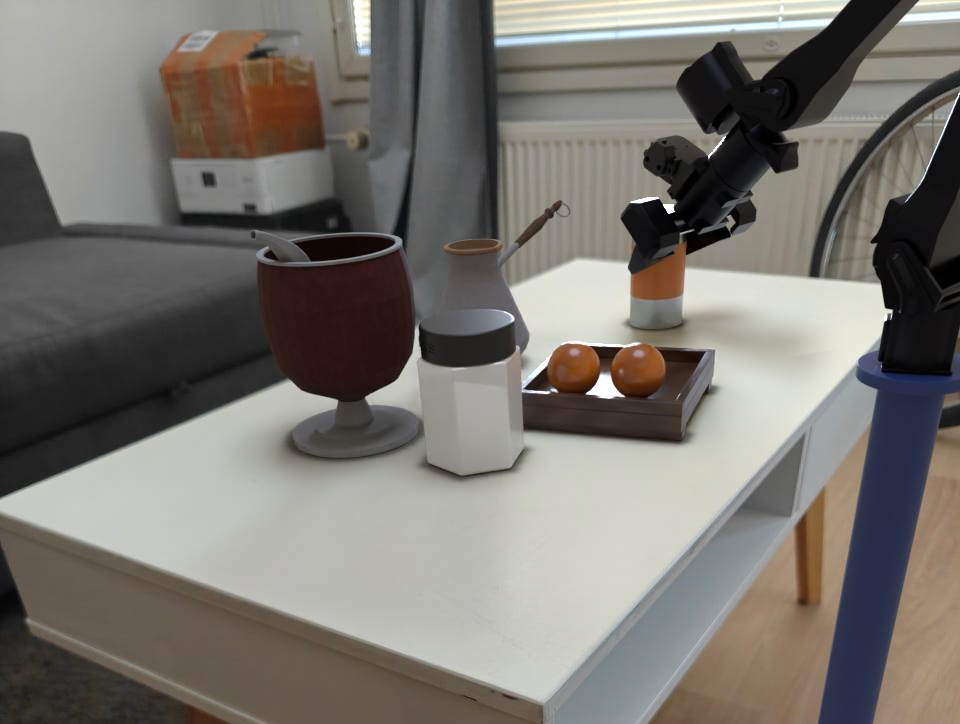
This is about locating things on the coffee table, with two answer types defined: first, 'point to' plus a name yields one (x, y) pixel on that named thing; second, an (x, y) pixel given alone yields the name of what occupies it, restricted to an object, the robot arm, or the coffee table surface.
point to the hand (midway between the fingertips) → (649, 265)
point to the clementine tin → (659, 290)
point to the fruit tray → (617, 389)
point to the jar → (471, 390)
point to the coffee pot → (487, 275)
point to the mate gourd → (340, 333)
